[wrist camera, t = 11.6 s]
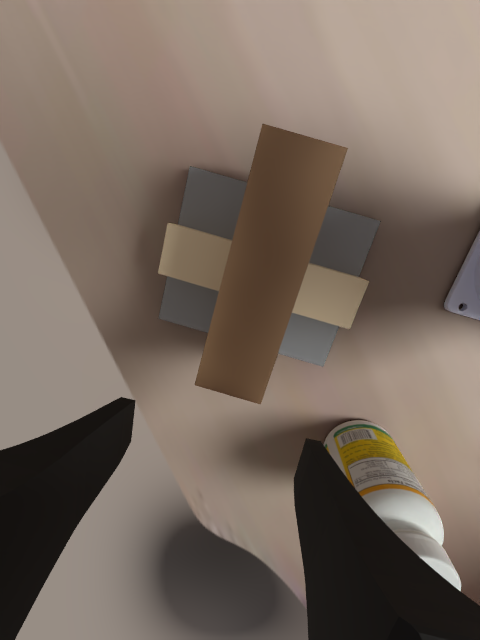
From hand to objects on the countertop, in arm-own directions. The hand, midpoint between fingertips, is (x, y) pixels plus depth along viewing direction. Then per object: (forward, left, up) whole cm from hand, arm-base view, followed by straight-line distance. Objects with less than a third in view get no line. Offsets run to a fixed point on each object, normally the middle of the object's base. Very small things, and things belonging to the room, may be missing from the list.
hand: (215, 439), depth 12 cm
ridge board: (0, -6, -10) cm, 12 cm away
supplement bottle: (-11, +5, -10) cm, 16 cm away
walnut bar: (0, -6, -7) cm, 10 cm away
